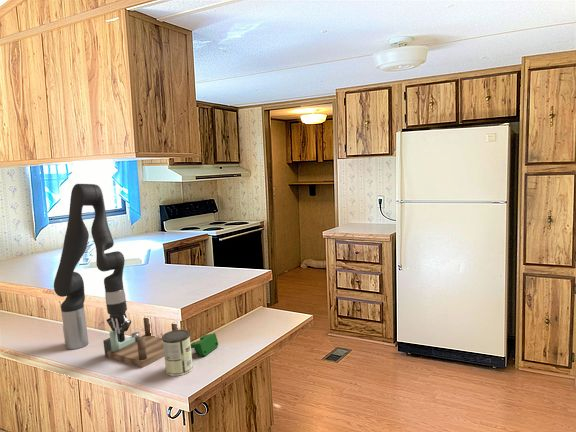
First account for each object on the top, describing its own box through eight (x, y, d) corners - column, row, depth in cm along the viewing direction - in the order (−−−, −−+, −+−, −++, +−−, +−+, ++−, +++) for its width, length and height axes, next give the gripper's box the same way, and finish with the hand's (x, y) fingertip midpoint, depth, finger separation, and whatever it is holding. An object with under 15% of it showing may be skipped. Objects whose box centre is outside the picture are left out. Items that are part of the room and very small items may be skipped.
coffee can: (169, 364, 176) (165, 330, 174) (195, 362, 176) (192, 328, 174) (162, 377, 165) (158, 341, 164) (190, 375, 166) (187, 338, 164)
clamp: (207, 356, 191) (206, 335, 194) (218, 355, 188) (217, 333, 192) (188, 357, 181) (188, 334, 184) (200, 355, 178) (199, 332, 181)
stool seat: (105, 356, 188) (102, 332, 186) (147, 337, 206) (144, 315, 205) (142, 367, 175) (140, 341, 173) (184, 346, 193) (181, 322, 192)
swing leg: (136, 338, 198) (134, 320, 197) (141, 339, 197) (139, 321, 196) (110, 351, 186) (107, 332, 185) (115, 352, 184) (113, 333, 183)
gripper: (134, 299, 182) (139, 339, 184) (112, 296, 189) (118, 336, 191) (119, 304, 175) (124, 347, 177) (97, 302, 182) (103, 342, 184)
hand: (121, 341), depth 184 cm, fingers closed
